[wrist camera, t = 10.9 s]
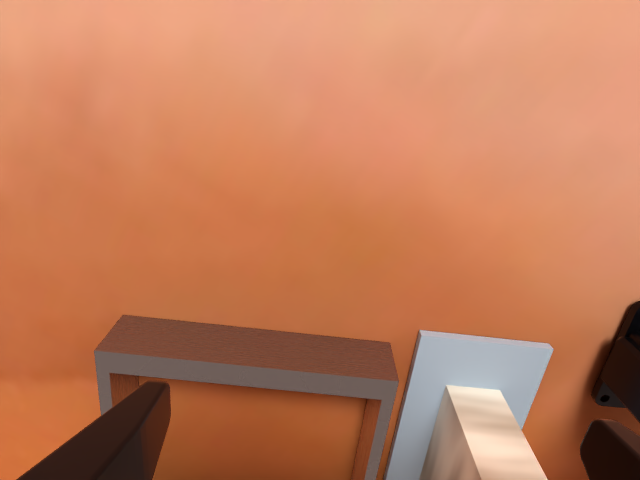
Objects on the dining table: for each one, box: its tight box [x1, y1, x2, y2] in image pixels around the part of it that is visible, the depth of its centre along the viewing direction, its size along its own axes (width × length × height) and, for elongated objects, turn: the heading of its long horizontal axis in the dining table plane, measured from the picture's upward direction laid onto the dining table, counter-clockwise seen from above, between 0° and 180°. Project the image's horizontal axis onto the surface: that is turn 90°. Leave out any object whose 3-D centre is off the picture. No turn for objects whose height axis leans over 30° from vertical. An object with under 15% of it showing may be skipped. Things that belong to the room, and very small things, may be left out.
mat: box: [383, 330, 553, 480], centre depth 25 cm, size 7×16×1 cm, turn 173°
